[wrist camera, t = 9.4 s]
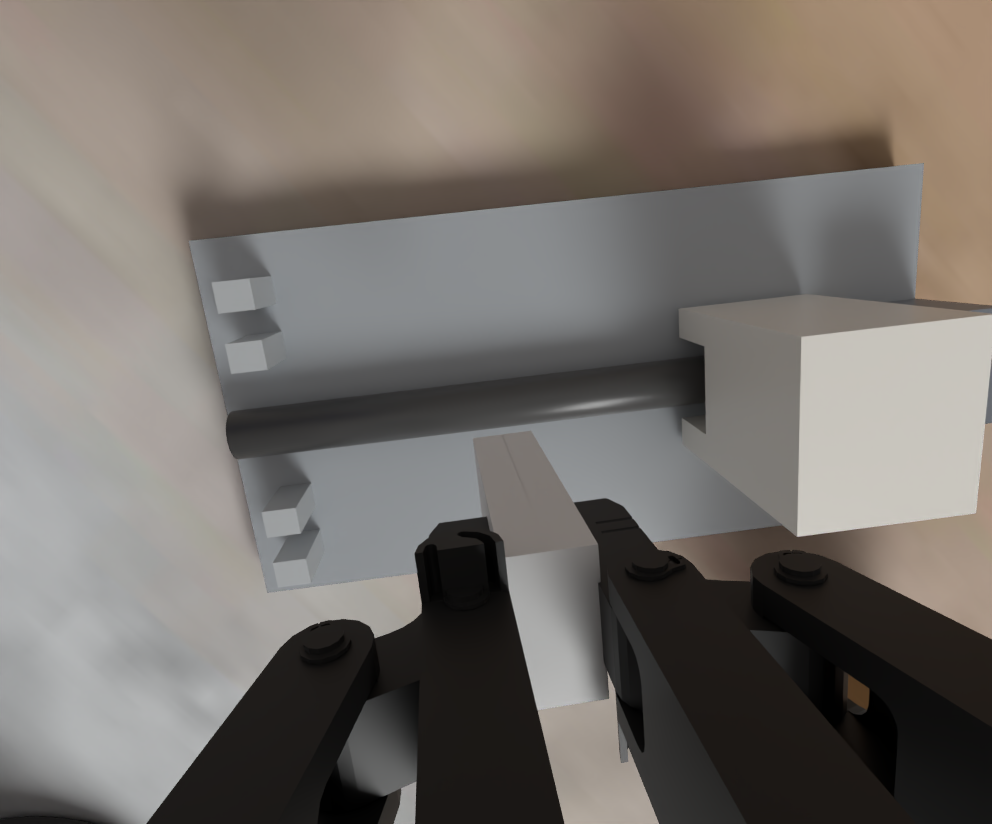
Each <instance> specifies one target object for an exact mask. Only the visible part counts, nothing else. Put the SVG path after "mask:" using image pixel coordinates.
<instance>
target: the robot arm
mask: <svg viewBox="0 0 992 824" xmlns="http://www.w3.org/2000/svg"><path fill="white" fill-rule="evenodd" d="M473 445H474V453H475V462H476V470H477V478H478V487H479V495H480V503H481V512H482V517H479V518H472V519H465V520H457V521H450V522H443V523H439V524H438V525H437V526H436V527H435V528H434V530H433V531H432V532H431V533H430V534H429V538H427V539H426V540H425V541H423V542H422V543H421V544H420V545H418V547H417V549H416V551H415V553H414V555H415V561H416V568H417V575H418V581H419V588H420V594H421V601H422V613H421V614H420V615H419V616H418V617H417V618H416V619H415V620H414V621H413V622H411V623H409V624H408V625H406V626H404V627H403V628H401V629H398V630H396V631H394V632H391V633H389V634H386V635H383V636H380V637H378V638H374V634H373V632H372V630H371V628H370V627H369V626H368V625H366V624H364V623H362V622H360V621H356V620H347V619H341V620H333V621H332V620H328V621H324V622H320V624H318V623H317V624H314V625H312V626H309V627H308V628H306V629H304V630H303V631H301V632H299V633H297V634H296V635H294V636H292V637H291V638H290V639H289V640H288V641H287V642H286V643H285V644H284V645H283V646H282V647H281V648H280V649H279V650H278V652H277V653H276V654H275V656H274V657H273V658H272V659H271V661H270V662H269V663H268V665H267V666H266V667H265V669H264V670H263V671H262V673H261V674H260V675H259V677H258V678H257V679H256V680H255V682H254V683H253V684H252V686H251V687H250V688H249V690H248V691H247V692H246V694H245V695H244V696H243V698H242V699H241V700H240V702H239V703H238V704H237V705H236V707H235V708H234V709H233V711H232V712H231V713H230V715H229V716H228V717H227V719H226V720H225V721H224V723H223V724H222V725H221V726H220V728H219V729H218V730H217V732H216V733H215V734H214V736H213V737H212V738H211V740H210V741H209V742H208V744H207V745H206V746H205V747H204V749H203V750H202V751H201V753H200V754H199V755H198V757H197V758H196V759H195V761H194V762H193V763H192V765H191V766H190V767H189V768H188V770H187V771H186V772H185V774H184V775H183V776H182V778H181V779H180V780H179V782H178V783H177V784H176V786H175V787H174V788H173V789H172V791H171V792H170V793H169V795H168V796H167V797H166V799H165V800H164V801H163V803H162V804H161V805H160V807H159V808H158V809H157V811H156V812H155V813H154V814H153V816H152V817H151V818H150V820H149V821H148V822H147V824H393V823H394V820H395V817H396V814H397V811H398V808H399V805H400V796H401V788H403V787H405V786H407V785H409V784H411V783H414V782H416V781H417V783H416V817H415V824H564V820H563V816H562V812H561V808H560V803H559V799H558V795H557V791H556V786H555V782H554V778H553V774H552V770H551V765H550V761H549V757H548V753H547V749H546V744H545V740H544V736H543V732H542V727H541V723H540V719H539V715H538V711H537V710H542V709H548V708H554V707H560V706H567V705H573V704H579V703H585V702H591V701H597V700H604V699H609V690H608V676H607V671H608V673H609V676H610V678H611V681H612V683H613V685H614V688H615V691H616V705H617V720H618V735H619V750H620V758H621V763H624V762H628V752H627V749H628V748H629V749H630V752H631V754H632V757H633V759H634V762H635V764H636V767H637V769H638V772H639V774H640V777H641V779H642V782H643V784H644V787H645V789H646V792H647V794H648V797H649V799H650V802H651V804H652V807H653V809H654V812H655V814H656V817H657V819H658V822H659V824H992V639H990V638H988V637H986V636H984V635H982V634H980V633H978V632H976V631H974V630H972V629H970V628H968V627H966V626H964V625H962V624H960V623H958V622H956V621H954V620H952V619H950V618H948V617H946V616H944V615H942V614H940V613H938V612H936V611H934V610H932V609H930V608H928V607H926V606H924V605H922V604H920V603H918V602H916V601H914V600H912V599H910V598H908V597H906V596H904V595H902V594H900V593H898V592H896V591H894V590H892V589H890V588H888V587H886V586H884V585H882V584H880V583H878V582H876V581H874V580H872V579H870V578H868V577H866V576H864V575H862V574H860V573H858V572H856V571H854V570H852V569H850V568H848V567H846V566H844V565H842V564H840V563H838V562H836V561H833V560H831V559H828V558H825V557H823V556H820V555H816V554H810V553H806V552H804V551H798V550H792V551H790V550H783V551H779V552H774V553H768V554H765V555H763V556H761V557H759V558H757V559H755V560H754V562H753V563H752V565H751V567H750V582H746V581H719V580H708V579H705V578H704V577H703V576H702V574H701V573H700V572H699V571H698V570H697V569H696V567H695V566H694V565H693V564H692V563H691V562H690V561H688V560H687V559H686V558H684V557H683V556H680V555H678V554H675V553H672V552H669V551H662V550H658V549H657V548H656V547H655V545H654V544H653V543H652V542H651V540H650V539H649V538H648V537H647V535H646V534H645V533H644V532H643V530H642V529H641V528H639V525H638V524H637V523H636V521H635V520H634V519H632V516H631V515H630V514H629V513H628V511H627V510H626V509H625V507H624V506H622V505H620V504H618V503H616V502H614V501H612V500H610V499H607V498H602V499H595V500H588V501H581V502H573V501H572V499H571V497H570V496H569V494H568V492H567V491H566V489H565V487H564V486H563V484H562V482H561V480H560V479H559V477H558V475H557V474H556V472H555V470H554V469H553V467H552V465H551V464H550V462H549V460H548V458H547V457H546V455H545V453H544V452H543V450H542V448H541V447H540V445H539V443H538V442H537V440H536V438H535V436H534V435H533V433H532V431H525V432H517V433H509V434H501V435H494V436H486V437H478V438H473ZM848 674H849V675H850V676H852V677H853V678H855V679H856V680H857V681H859V682H860V683H862V684H863V685H865V686H866V687H868V688H869V705H868V708H867V709H864V708H862V707H861V706H859V705H857V704H856V703H854V702H853V701H852V700H850V699H849V698H848ZM0 824H91V823H87V822H83V821H77V820H72V819H64V818H55V817H18V818H9V819H2V820H0Z"/></svg>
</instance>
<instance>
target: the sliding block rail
mask: <svg viewBox="0 0 992 824" xmlns="http://www.w3.org/2000/svg"><path fill="white" fill-rule="evenodd" d="M923 169H924V163H921V164H911V165H902V166H892V167H883V168H873V169H864V170H854V171H845V172H835V173H826V174H816V175H807V176H797V177H788V178H779V179H769V180H760V181H750V182H741V183H731V184H722V185H712V186H703V187H693V188H684V189H674V190H665V191H656V192H646V193H637V194H627V195H618V196H608V197H599V198H589V199H580V200H570V201H561V202H551V203H542V204H532V205H523V206H514V207H504V208H495V209H485V210H476V211H466V212H457V213H447V214H438V215H428V216H419V217H409V218H400V219H390V220H381V221H372V222H362V223H353V224H343V225H334V226H324V227H315V228H305V229H296V230H286V231H277V232H267V233H258V234H248V235H239V236H230V237H220V238H211V239H201V240H192V241H189V245H190V250H191V254H192V259H193V263H194V267H195V272H196V276H197V281H198V285H199V290H200V294H201V299H202V303H203V308H204V312H205V317H206V321H207V325H208V330H209V334H210V339H211V343H212V348H213V352H214V357H215V361H216V366H217V370H218V375H219V379H220V384H221V388H222V392H223V397H224V401H225V406H226V410H227V415H228V417H227V422H226V436H227V442H228V446H229V449H230V451H231V453H232V455H233V456H234V457H235V458H236V459H238V464H239V468H240V473H241V477H242V482H243V486H244V491H245V495H246V500H247V504H248V508H249V513H250V517H251V522H252V526H253V531H254V535H255V540H256V544H257V549H258V553H259V558H260V562H261V567H262V571H263V575H264V580H265V584H266V589H267V593H269V592H277V591H285V590H292V589H300V588H307V587H315V586H323V585H330V584H338V583H346V582H353V581H361V580H369V579H376V578H384V577H391V576H399V575H407V574H414V573H417V568H416V561H415V555H414V553H415V551H416V549H417V547H418V545H420V544H421V543H422V542H423V541H425V540H426V539H427V538H429V534H430V533H431V532H432V531H433V530H434V528H435V527H436V526H437V525H438V524H439V523H443V522H450V521H457V520H465V519H472V518H479V517H482V512H481V503H480V495H479V487H478V478H477V470H476V462H475V453H474V445H473V438H478V437H486V436H494V435H501V434H509V433H517V432H525V431H532V433H533V435H534V436H535V438H536V440H537V442H538V443H539V445H540V447H541V448H542V450H543V452H544V453H545V455H546V457H547V458H548V460H549V462H550V464H551V465H552V467H553V469H554V470H555V472H556V474H557V475H558V477H559V479H560V480H561V482H562V484H563V486H564V487H565V489H566V491H567V492H568V494H569V496H570V497H571V499H572V501H573V502H581V501H588V500H595V499H602V498H607V499H610V500H612V501H614V502H616V503H618V504H620V505H622V506H624V507H625V509H626V510H627V511H628V513H629V514H630V515H631V516H632V519H634V520H635V521H636V523H637V524H638V525H639V528H641V529H642V530H643V532H644V533H645V534H646V535H647V537H648V538H649V539H650V540H651V542H659V541H666V540H674V539H682V538H689V537H697V536H704V535H712V534H720V533H727V532H735V531H743V530H750V529H758V528H766V527H773V526H781V525H782V524H781V523H779V522H778V521H777V520H776V519H774V518H773V517H772V516H771V515H769V514H768V513H767V512H766V511H764V510H763V509H762V508H761V507H760V506H758V505H757V504H756V503H755V502H753V501H752V500H751V499H750V498H748V497H747V496H746V495H745V494H743V493H742V492H741V491H740V490H739V489H737V488H736V487H735V486H734V485H732V484H731V483H730V482H729V481H727V480H726V479H725V478H724V477H722V476H721V475H720V474H719V473H718V472H716V471H715V470H714V469H713V468H711V467H710V466H709V465H708V464H706V463H705V462H704V461H703V460H701V459H700V458H699V457H698V456H697V455H695V454H694V453H693V452H692V451H690V450H689V449H688V448H687V447H685V446H684V445H683V444H682V418H683V417H691V416H700V415H706V405H705V352H704V346H702V345H699V344H696V343H693V342H691V341H688V340H685V339H682V338H679V311H678V309H680V308H688V307H697V306H706V305H715V304H723V303H732V302H741V301H750V300H758V299H767V298H776V297H785V296H793V295H802V294H811V295H821V296H830V297H840V298H849V299H859V300H868V301H878V302H887V303H897V304H906V305H915V306H925V307H934V308H944V309H953V310H963V311H972V312H982V313H991V314H992V306H990V305H979V304H968V303H957V302H946V301H935V300H924V299H915V288H916V273H917V258H918V243H919V228H920V214H921V199H922V184H923ZM987 423H992V359H991V369H990V379H989V389H988V399H987V409H986V418H985V424H987Z"/></svg>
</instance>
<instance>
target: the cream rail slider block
mask: <svg viewBox="0 0 992 824" xmlns="http://www.w3.org/2000/svg"><path fill="white" fill-rule="evenodd" d="M678 311H679V338H682V339H685V340H688V341H691V342H693V343H696V344H699V345H702V346H704V352H705V405H706V415H700V416H691V417H683V418H682V444H683V445H684V446H685V447H687V448H688V449H689V450H690V451H692V452H693V453H694V454H695V455H697V456H698V457H699V458H700V459H701V460H703V461H704V462H705V463H706V464H708V465H709V466H710V467H711V468H713V469H714V470H715V471H716V472H718V473H719V474H720V475H721V476H722V477H724V478H725V479H726V480H727V481H729V482H730V483H731V484H732V485H734V486H735V487H736V488H737V489H739V490H740V491H741V492H742V493H743V494H745V495H746V496H747V497H748V498H750V499H751V500H752V501H753V502H755V503H756V504H757V505H758V506H760V507H761V508H762V509H763V510H764V511H766V512H767V513H768V514H769V515H771V516H772V517H773V518H774V519H776V520H777V521H778V522H779V523H781V524H782V525H783V526H784V527H786V528H787V529H788V530H789V531H790V532H792V533H793V534H794V535H795V536H797V537H800V536H808V535H816V534H823V533H831V532H838V531H846V530H853V529H861V528H869V527H876V526H884V525H891V524H899V523H907V522H914V521H922V520H929V519H937V518H944V517H952V516H960V515H967V514H975V513H976V507H977V497H978V487H979V478H980V468H981V458H982V448H983V438H984V428H985V418H986V409H987V399H988V389H989V379H990V369H991V359H992V314H991V313H982V312H972V311H963V310H953V309H944V308H934V307H925V306H915V305H906V304H897V303H887V302H878V301H868V300H859V299H849V298H840V297H830V296H821V295H811V294H802V295H793V296H785V297H776V298H767V299H758V300H750V301H741V302H732V303H723V304H715V305H706V306H697V307H688V308H680V309H678Z"/></svg>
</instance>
